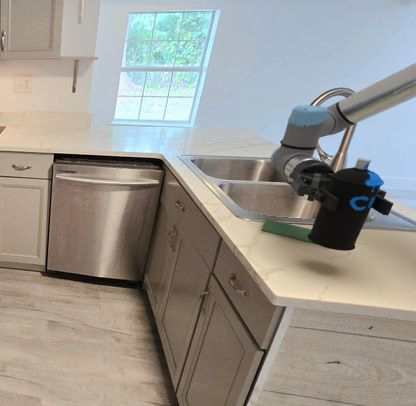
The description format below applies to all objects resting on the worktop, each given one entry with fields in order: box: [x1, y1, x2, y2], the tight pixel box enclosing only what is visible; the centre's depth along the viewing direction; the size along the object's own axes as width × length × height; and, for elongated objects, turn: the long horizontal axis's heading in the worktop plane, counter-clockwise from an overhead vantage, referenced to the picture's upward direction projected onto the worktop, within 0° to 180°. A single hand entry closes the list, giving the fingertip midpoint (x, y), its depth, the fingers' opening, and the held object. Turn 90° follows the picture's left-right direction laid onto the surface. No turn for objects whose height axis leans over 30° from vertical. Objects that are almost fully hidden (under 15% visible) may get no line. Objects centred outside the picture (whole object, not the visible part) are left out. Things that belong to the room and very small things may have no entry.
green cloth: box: [260, 218, 316, 245], centre depth 103 cm, size 14×8×1 cm, turn 46°
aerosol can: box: [308, 157, 385, 252], centre depth 81 cm, size 8×8×20 cm
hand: (361, 207), depth 76 cm, fingers closed on aerosol can, 8 cm apart
